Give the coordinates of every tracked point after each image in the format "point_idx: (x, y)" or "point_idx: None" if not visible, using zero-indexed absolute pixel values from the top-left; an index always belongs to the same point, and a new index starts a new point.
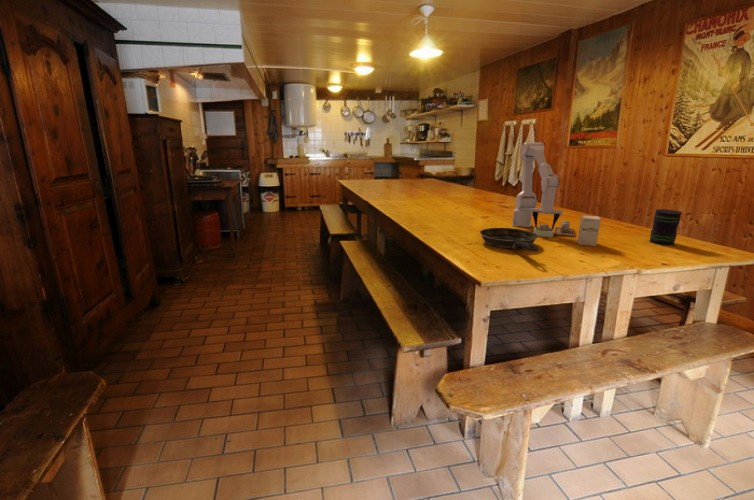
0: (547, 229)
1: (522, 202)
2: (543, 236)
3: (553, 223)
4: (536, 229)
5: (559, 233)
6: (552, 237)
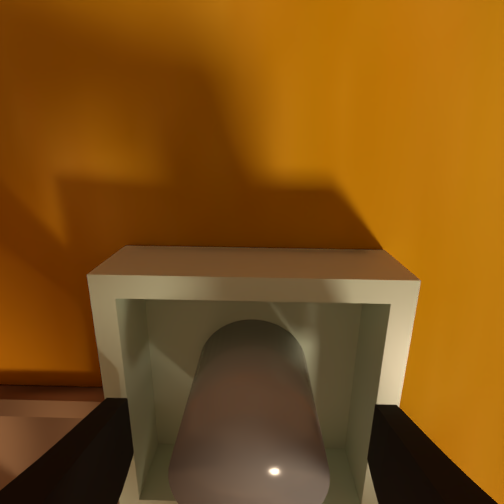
0: (195, 387)
1: None
2: (245, 247)
3: (45, 484)
4: (345, 471)
5: None
6: (127, 245)
